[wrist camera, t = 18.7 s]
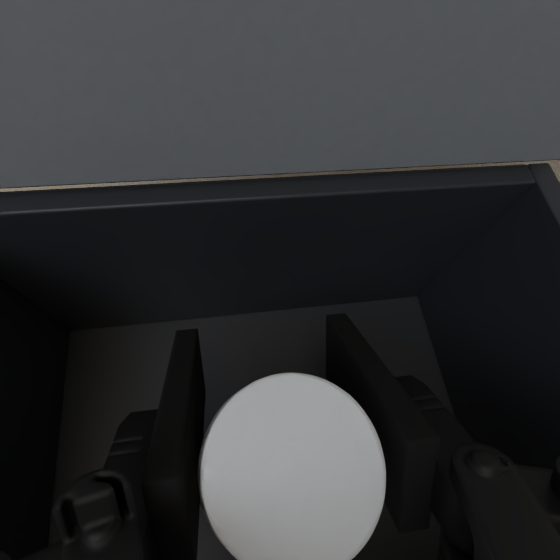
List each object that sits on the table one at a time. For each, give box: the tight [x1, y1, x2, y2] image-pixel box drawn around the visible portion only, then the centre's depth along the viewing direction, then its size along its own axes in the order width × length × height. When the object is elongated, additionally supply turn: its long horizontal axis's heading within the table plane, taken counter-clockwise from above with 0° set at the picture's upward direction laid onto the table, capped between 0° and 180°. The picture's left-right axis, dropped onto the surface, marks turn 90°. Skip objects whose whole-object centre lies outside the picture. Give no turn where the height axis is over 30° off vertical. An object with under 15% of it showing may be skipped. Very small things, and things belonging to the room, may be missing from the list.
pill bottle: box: [197, 372, 386, 560], centre depth 12 cm, size 5×5×8 cm
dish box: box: [0, 163, 560, 560], centre depth 13 cm, size 16×20×10 cm
